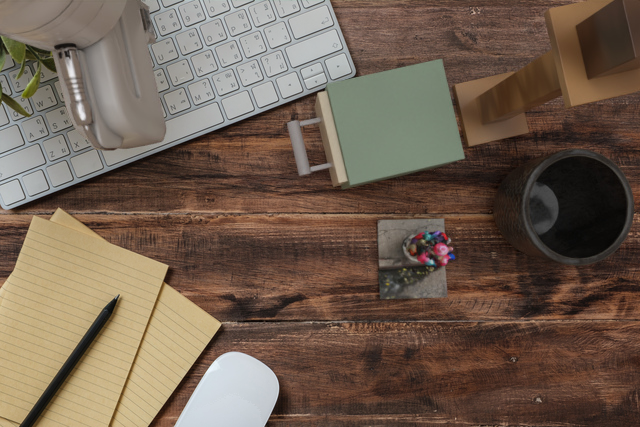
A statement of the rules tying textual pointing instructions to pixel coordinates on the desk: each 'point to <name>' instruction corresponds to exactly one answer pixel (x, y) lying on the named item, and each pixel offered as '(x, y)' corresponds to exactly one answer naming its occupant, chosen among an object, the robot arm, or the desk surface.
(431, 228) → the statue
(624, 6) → the pencil box
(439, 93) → the cabinet
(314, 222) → the desk surface
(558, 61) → the stand
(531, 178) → the planter
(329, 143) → the drawer
